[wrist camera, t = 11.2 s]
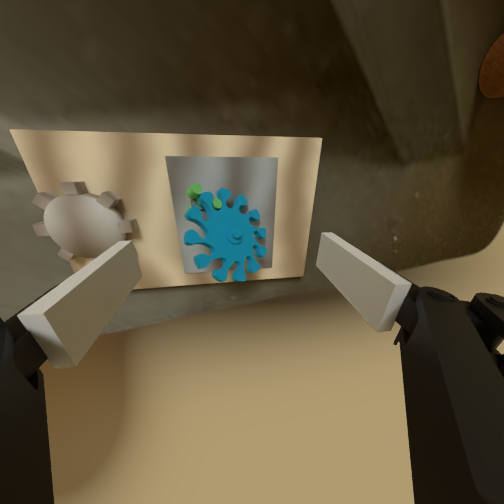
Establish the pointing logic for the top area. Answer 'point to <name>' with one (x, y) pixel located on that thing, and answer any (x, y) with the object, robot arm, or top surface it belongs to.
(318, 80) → the top surface
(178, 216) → the carrier board
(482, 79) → the disposable coffee cup
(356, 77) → the top surface
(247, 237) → the gear
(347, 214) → the top surface
